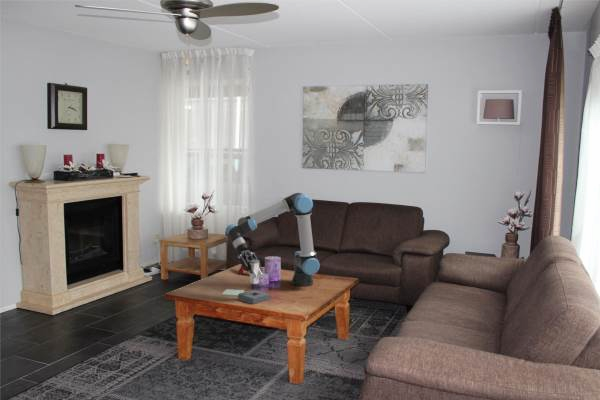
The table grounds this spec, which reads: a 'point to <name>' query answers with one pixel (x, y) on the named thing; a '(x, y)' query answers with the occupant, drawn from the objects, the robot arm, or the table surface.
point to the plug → (256, 268)
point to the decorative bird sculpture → (243, 268)
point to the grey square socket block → (254, 296)
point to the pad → (232, 292)
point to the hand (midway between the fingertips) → (258, 276)
